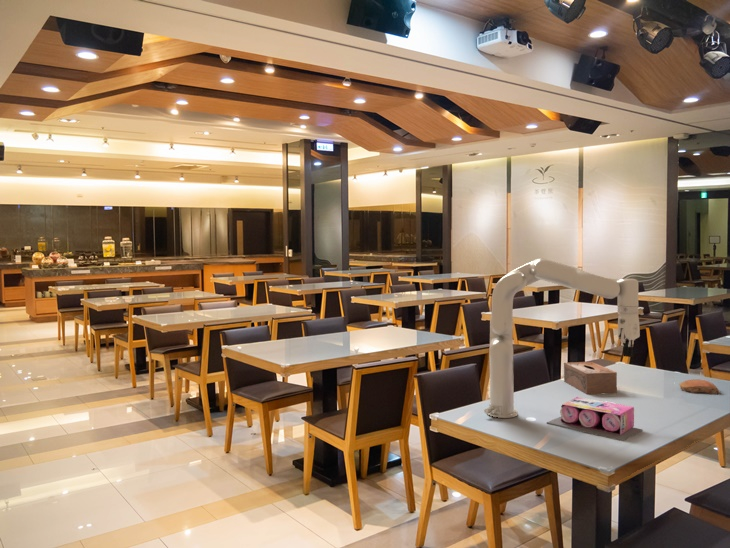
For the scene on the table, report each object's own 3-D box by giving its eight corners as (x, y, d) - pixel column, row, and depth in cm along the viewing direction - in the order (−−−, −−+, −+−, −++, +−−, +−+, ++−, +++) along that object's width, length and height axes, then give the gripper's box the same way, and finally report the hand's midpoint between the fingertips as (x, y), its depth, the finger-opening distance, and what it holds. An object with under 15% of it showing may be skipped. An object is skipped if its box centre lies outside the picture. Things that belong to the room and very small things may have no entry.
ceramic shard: (674, 375, 287) (707, 380, 284) (673, 388, 286) (706, 393, 284) (685, 378, 272) (720, 383, 269) (684, 392, 272) (719, 397, 269)
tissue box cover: (564, 382, 300) (564, 362, 300) (591, 381, 301) (591, 361, 301) (586, 394, 274) (586, 373, 274) (616, 393, 275) (616, 372, 275)
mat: (623, 440, 209) (623, 439, 209) (546, 423, 232) (546, 422, 231) (642, 430, 220) (642, 429, 220) (567, 415, 242) (567, 413, 242)
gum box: (573, 415, 240) (557, 422, 230) (573, 395, 240) (557, 402, 230) (634, 427, 223) (620, 435, 214) (634, 406, 223) (620, 414, 213)
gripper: (629, 312, 225) (629, 360, 226) (645, 309, 235) (645, 354, 236) (609, 311, 231) (610, 357, 231) (626, 307, 241) (626, 352, 242)
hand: (628, 356), depth 234 cm, fingers closed
